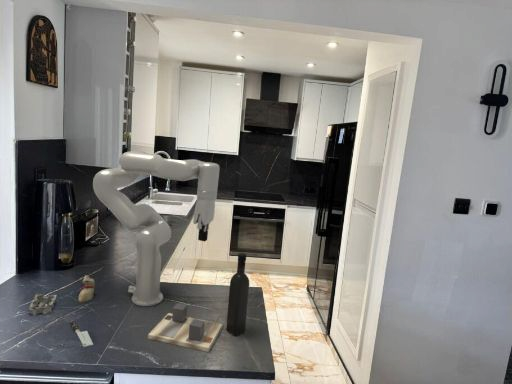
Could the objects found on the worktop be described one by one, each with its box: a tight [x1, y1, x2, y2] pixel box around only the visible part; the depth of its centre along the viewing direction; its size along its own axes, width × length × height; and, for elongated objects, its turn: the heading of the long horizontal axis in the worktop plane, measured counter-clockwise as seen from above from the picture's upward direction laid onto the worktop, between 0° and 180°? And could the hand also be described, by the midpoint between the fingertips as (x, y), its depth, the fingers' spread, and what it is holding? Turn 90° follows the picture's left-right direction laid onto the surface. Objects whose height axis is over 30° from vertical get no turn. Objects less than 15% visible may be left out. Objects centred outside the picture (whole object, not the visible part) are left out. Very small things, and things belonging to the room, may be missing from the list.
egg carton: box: [28, 292, 57, 316], centre depth 128 cm, size 11×8×4 cm
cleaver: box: [69, 320, 94, 348], centre depth 116 cm, size 17×1×5 cm
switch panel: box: [147, 312, 223, 353], centre depth 121 cm, size 22×15×2 cm
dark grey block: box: [172, 302, 188, 322], centre depth 125 cm, size 4×4×5 cm
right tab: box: [189, 318, 206, 341], centre depth 116 cm, size 4×4×5 cm
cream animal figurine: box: [77, 275, 96, 304], centre depth 137 cm, size 6×8×10 cm
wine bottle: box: [225, 252, 250, 337], centre depth 122 cm, size 6×6×30 cm
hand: (202, 240), depth 132 cm, fingers closed
